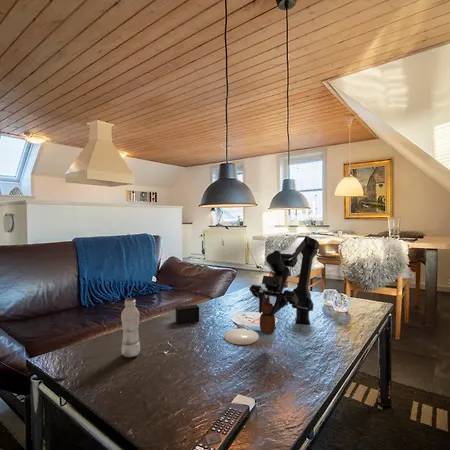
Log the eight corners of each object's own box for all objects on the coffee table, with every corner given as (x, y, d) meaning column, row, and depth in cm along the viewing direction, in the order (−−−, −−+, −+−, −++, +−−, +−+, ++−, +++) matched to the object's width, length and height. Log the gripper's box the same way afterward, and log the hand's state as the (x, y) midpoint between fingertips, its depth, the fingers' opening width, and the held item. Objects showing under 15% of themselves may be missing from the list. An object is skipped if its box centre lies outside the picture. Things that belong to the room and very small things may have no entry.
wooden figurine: (274, 337, 107) (274, 296, 106) (258, 336, 108) (258, 295, 108) (275, 330, 114) (275, 291, 113) (260, 328, 115) (260, 290, 114)
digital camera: (196, 317, 144) (196, 303, 143) (199, 321, 139) (199, 306, 138) (174, 320, 140) (174, 306, 139) (177, 324, 135) (177, 309, 134)
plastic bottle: (123, 361, 101) (122, 303, 100) (120, 353, 107) (119, 298, 106) (142, 357, 104) (141, 301, 103) (138, 349, 110) (137, 296, 109)
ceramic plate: (227, 329, 129) (227, 327, 129) (259, 331, 126) (259, 329, 126) (221, 343, 115) (221, 341, 115) (257, 346, 113) (257, 344, 113)
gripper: (251, 264, 119) (236, 298, 110) (295, 269, 107) (281, 308, 99) (261, 280, 125) (247, 313, 117) (303, 286, 114) (291, 323, 106)
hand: (265, 314), depth 110 cm, fingers closed on wooden figurine, 5 cm apart
